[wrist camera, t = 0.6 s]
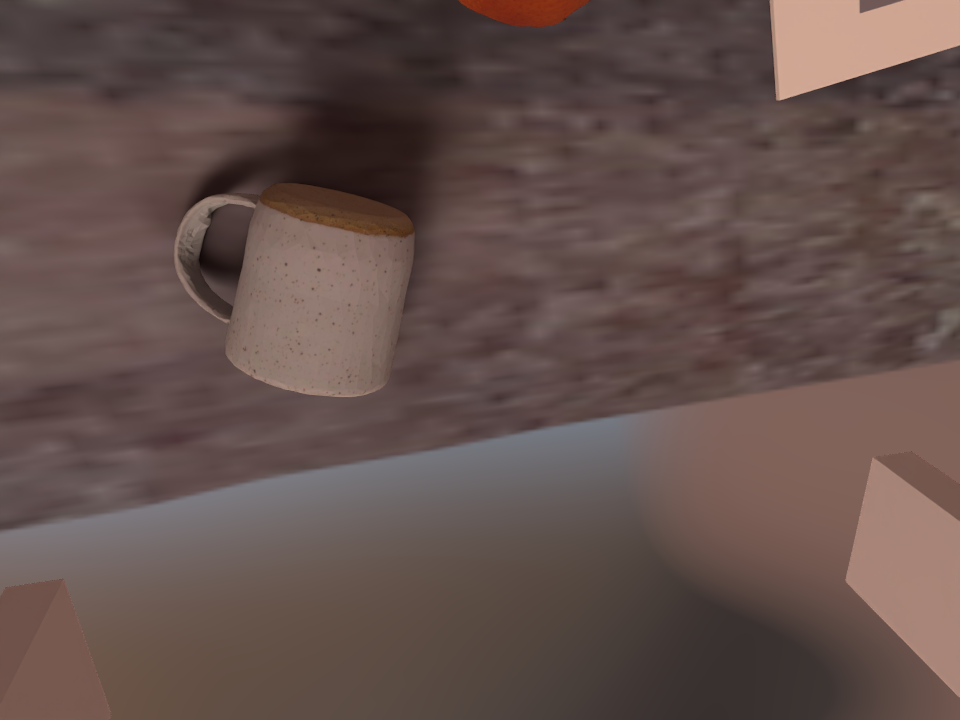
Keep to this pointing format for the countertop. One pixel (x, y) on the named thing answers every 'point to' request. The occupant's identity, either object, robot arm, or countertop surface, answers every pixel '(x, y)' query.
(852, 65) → the paper
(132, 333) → the countertop surface
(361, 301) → the ceramic mug
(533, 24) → the fruit
